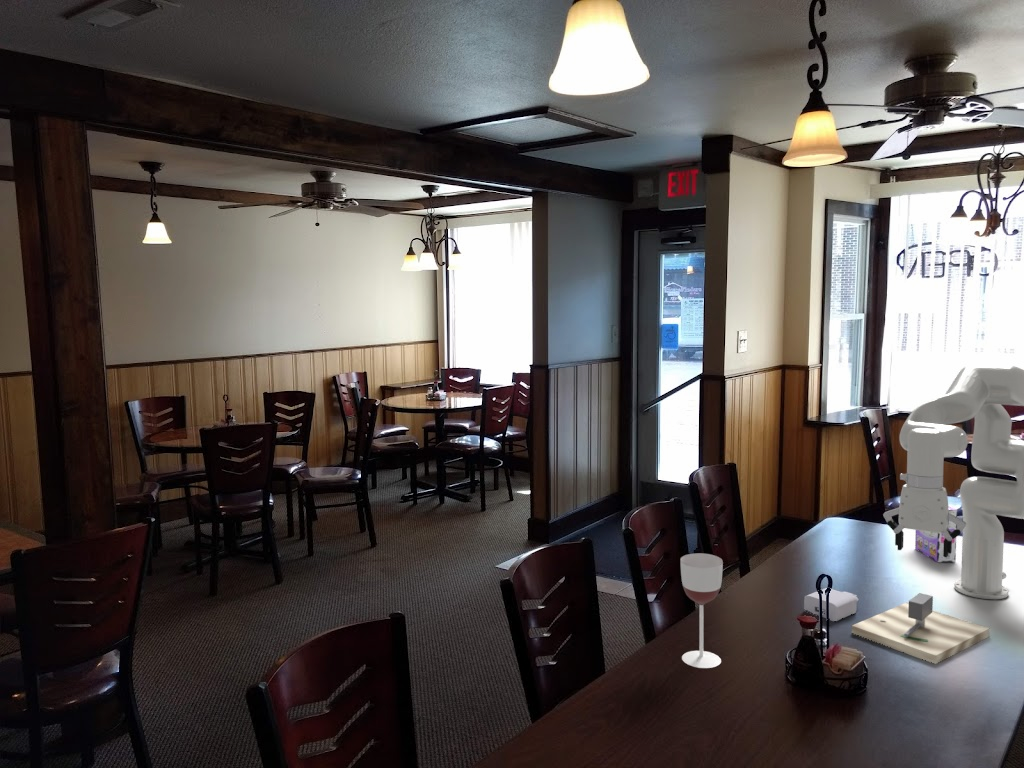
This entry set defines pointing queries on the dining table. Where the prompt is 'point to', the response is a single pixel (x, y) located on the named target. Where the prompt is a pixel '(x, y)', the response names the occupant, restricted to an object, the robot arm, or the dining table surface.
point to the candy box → (936, 542)
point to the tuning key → (919, 611)
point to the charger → (832, 604)
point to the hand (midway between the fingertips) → (922, 552)
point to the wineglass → (701, 598)
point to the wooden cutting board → (921, 633)
